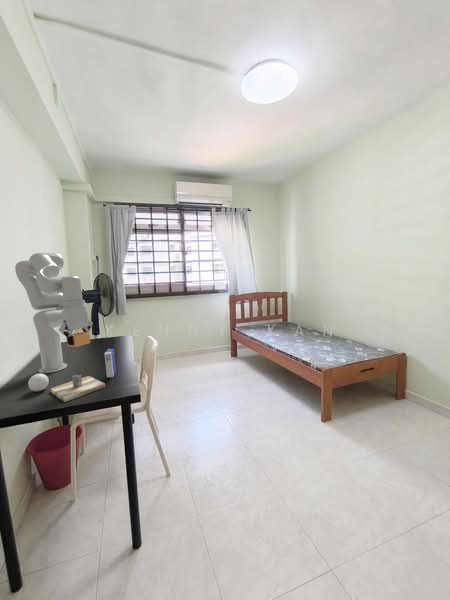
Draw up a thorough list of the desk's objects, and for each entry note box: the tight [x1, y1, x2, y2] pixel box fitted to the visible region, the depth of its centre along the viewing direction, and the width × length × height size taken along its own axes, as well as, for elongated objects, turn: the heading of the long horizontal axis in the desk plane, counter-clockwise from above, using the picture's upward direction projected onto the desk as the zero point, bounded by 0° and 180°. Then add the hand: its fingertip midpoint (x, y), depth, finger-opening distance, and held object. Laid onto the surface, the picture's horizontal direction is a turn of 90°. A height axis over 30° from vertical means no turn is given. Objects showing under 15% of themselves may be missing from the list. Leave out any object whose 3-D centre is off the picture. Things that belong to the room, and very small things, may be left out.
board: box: [49, 374, 106, 403], centre depth 114 cm, size 16×16×6 cm
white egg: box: [27, 373, 50, 392], centre depth 114 cm, size 10×7×7 cm
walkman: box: [104, 348, 117, 379], centre depth 129 cm, size 8×3×12 cm, turn 11°
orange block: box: [65, 331, 91, 348], centre depth 122 cm, size 7×7×5 cm
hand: (78, 342), depth 122 cm, fingers closed on orange block, 6 cm apart
